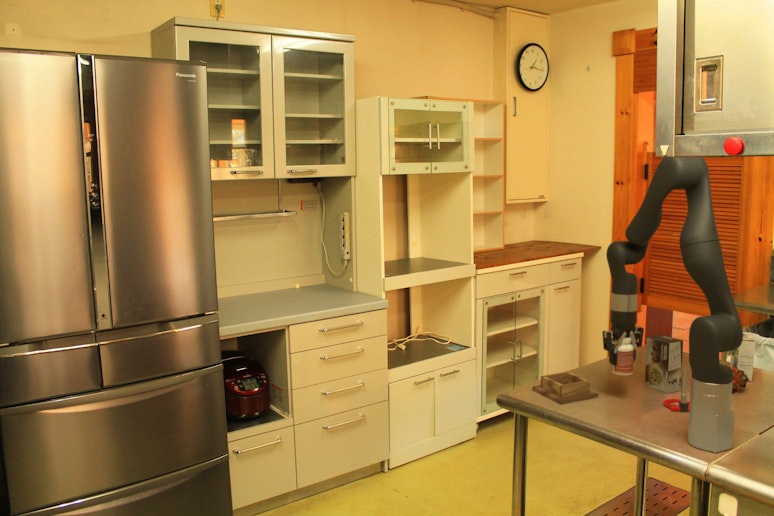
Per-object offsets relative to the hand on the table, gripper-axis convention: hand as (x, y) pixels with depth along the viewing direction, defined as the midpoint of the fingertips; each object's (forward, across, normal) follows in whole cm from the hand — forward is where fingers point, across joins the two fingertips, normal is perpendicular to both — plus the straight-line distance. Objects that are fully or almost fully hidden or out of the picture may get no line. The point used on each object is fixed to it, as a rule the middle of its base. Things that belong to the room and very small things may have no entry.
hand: (622, 362), depth 196 cm
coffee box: (+12, +19, +2) cm, 22 cm away
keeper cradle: (+11, -12, +12) cm, 20 cm away
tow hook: (+12, +11, -12) cm, 20 cm away
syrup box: (+12, +49, -2) cm, 50 cm away
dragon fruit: (+12, +35, -8) cm, 38 cm away
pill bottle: (+3, 0, 0) cm, 3 cm away
